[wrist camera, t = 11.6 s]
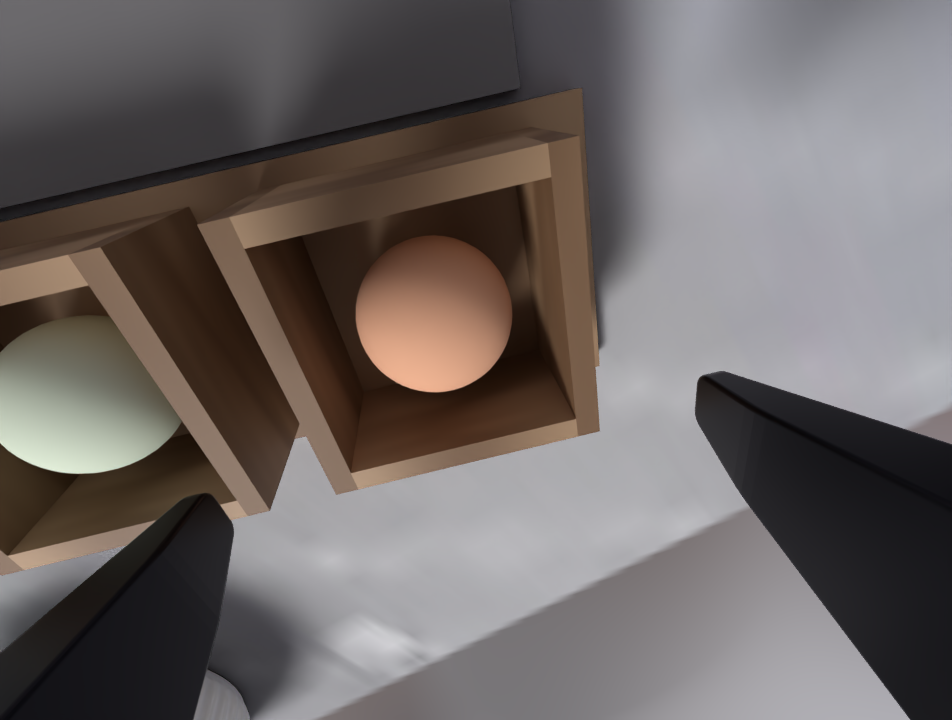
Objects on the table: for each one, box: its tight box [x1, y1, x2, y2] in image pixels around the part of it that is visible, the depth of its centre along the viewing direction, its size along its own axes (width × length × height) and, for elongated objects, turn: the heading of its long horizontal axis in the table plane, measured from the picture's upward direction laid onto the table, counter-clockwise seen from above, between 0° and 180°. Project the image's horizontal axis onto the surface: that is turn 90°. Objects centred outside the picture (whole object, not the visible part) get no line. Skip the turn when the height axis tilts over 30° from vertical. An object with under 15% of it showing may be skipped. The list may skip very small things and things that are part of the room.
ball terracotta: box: [356, 235, 512, 392], centre depth 12 cm, size 4×4×4 cm
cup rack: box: [0, 88, 600, 575], centre depth 12 cm, size 19×8×4 cm, turn 101°
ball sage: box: [0, 315, 182, 474], centre depth 11 cm, size 4×4×4 cm
